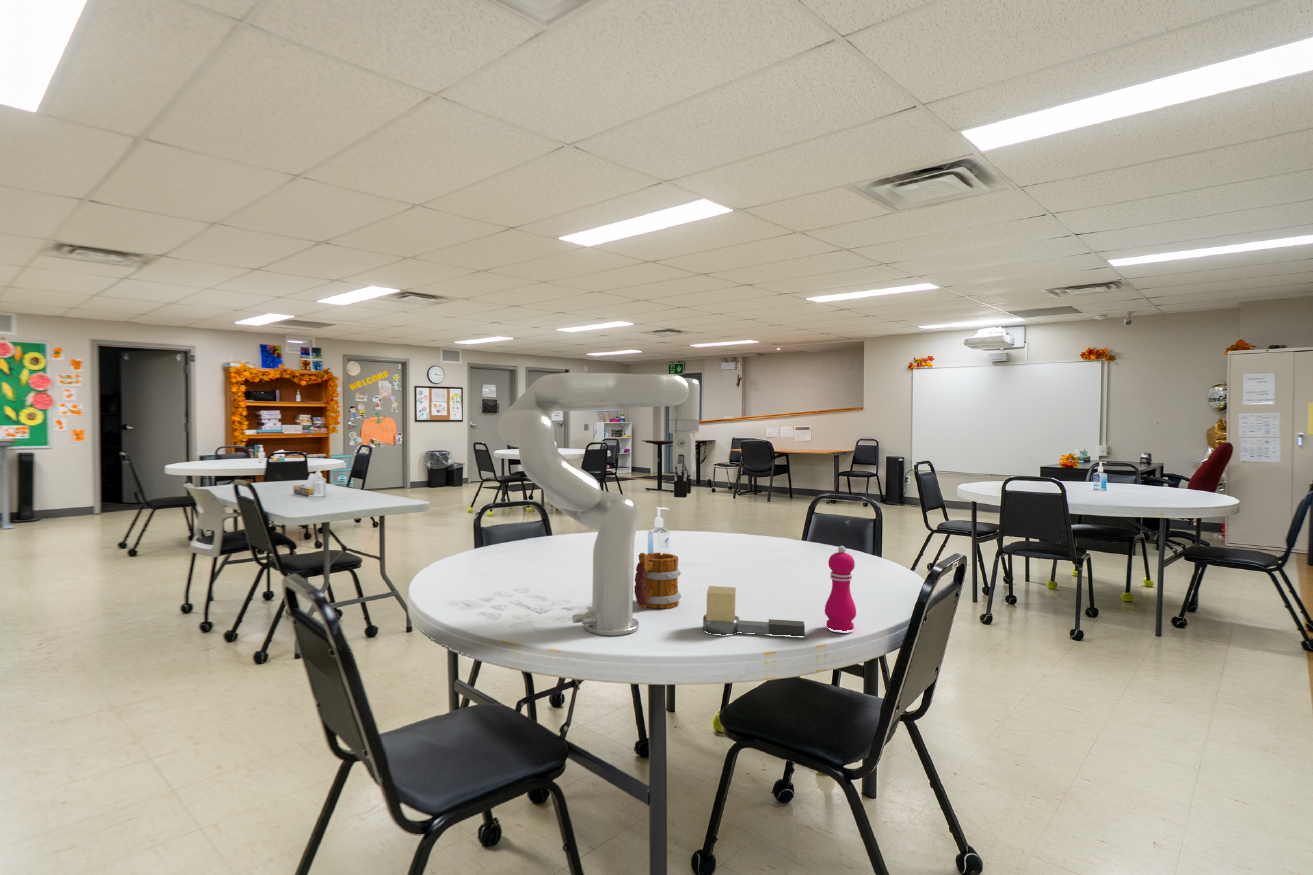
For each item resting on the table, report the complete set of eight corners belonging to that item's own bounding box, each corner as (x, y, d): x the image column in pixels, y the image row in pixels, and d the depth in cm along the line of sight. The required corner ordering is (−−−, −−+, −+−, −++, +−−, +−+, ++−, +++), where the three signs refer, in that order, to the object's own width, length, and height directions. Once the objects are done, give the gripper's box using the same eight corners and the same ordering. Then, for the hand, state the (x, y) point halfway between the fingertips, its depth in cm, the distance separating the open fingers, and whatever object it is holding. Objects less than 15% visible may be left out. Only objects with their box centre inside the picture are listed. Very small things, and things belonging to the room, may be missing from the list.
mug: (687, 602, 175) (688, 547, 175) (653, 616, 162) (654, 557, 161) (654, 596, 181) (655, 542, 181) (619, 609, 168) (620, 551, 167)
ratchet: (701, 634, 148) (702, 602, 148) (704, 623, 156) (705, 593, 156) (805, 641, 145) (806, 608, 144) (802, 630, 153) (803, 598, 153)
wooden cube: (734, 622, 148) (734, 594, 148) (706, 620, 149) (706, 592, 149) (735, 614, 154) (735, 587, 154) (708, 612, 155) (708, 585, 155)
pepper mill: (832, 623, 159) (833, 542, 159) (860, 629, 154) (862, 545, 154) (819, 629, 153) (821, 545, 153) (848, 636, 149) (850, 550, 148)
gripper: (695, 427, 154) (694, 499, 154) (701, 427, 171) (700, 492, 171) (664, 427, 155) (663, 498, 155) (673, 427, 172) (672, 491, 172)
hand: (682, 495), depth 163 cm, fingers open, 9 cm apart
